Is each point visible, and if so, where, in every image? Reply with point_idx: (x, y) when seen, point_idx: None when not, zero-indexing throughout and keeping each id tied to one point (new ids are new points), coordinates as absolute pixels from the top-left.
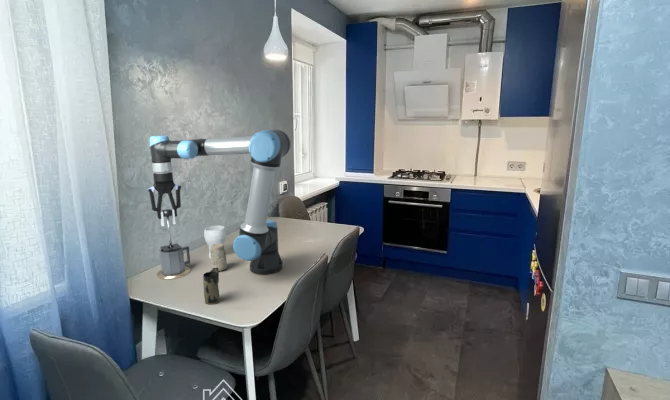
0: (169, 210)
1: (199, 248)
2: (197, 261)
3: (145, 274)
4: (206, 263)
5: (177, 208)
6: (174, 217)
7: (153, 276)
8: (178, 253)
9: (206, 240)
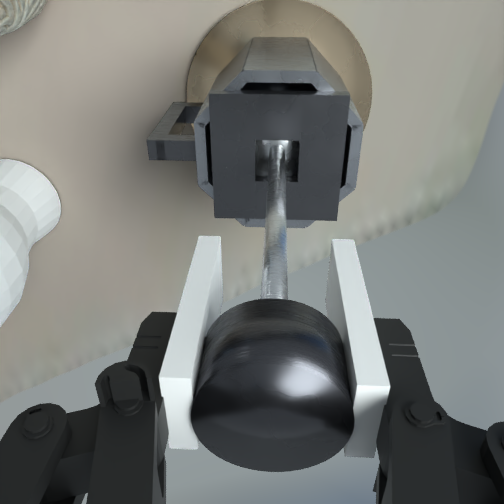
0: (238, 389)
1: (93, 346)
2: (127, 191)
3: (402, 178)
4: (85, 129)
5: (91, 408)
6: (189, 292)
7: (381, 122)
8: (243, 66)
9: (16, 246)
